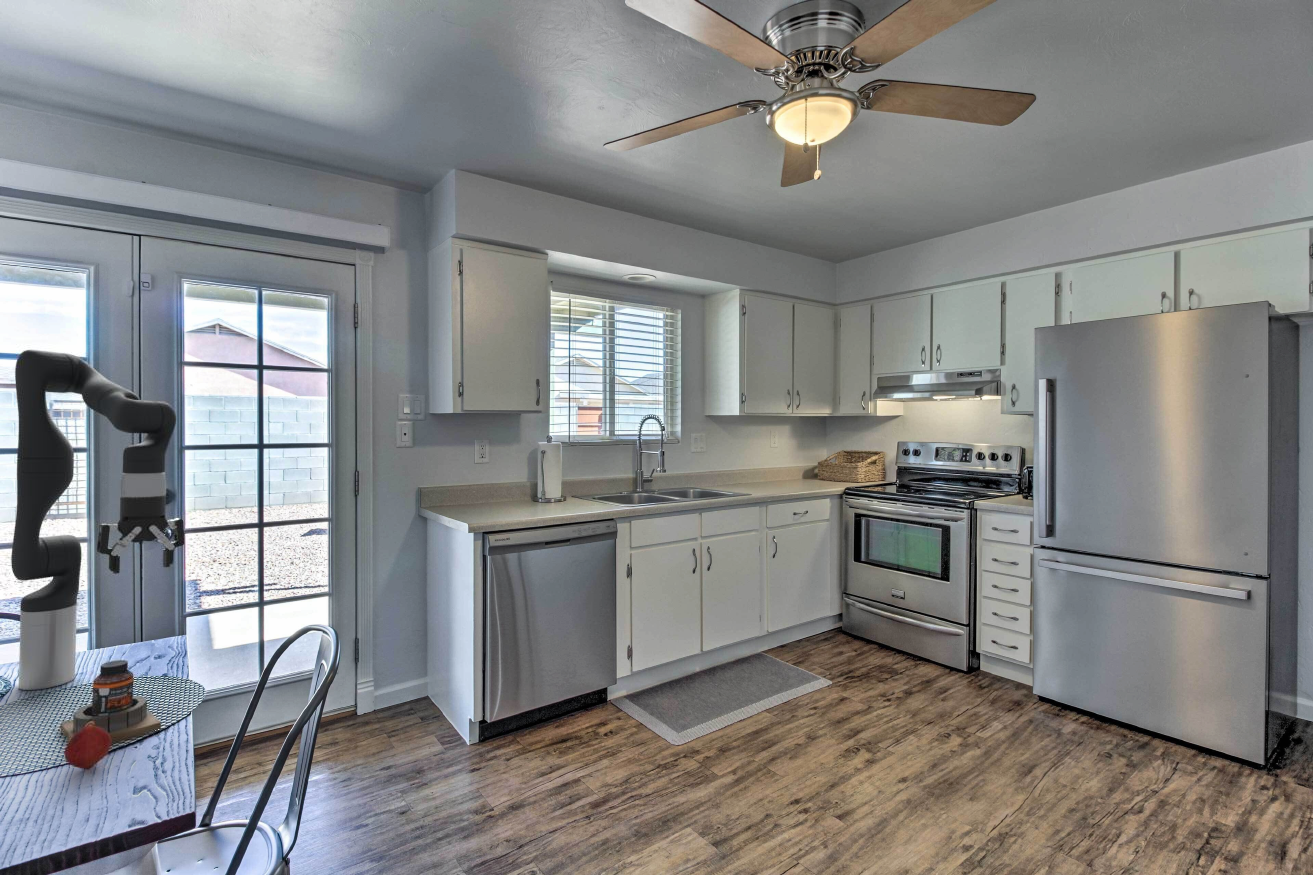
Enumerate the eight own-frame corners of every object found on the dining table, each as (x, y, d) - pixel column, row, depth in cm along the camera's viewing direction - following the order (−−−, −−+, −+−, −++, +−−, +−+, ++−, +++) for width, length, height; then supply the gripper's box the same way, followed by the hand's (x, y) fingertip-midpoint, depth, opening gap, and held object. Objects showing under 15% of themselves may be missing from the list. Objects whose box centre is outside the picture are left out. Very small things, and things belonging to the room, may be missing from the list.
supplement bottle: (107, 730, 117) (109, 669, 117) (82, 726, 118) (84, 666, 118) (140, 716, 123) (141, 659, 123) (116, 713, 124) (117, 656, 124)
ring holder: (60, 730, 120) (60, 706, 120) (139, 709, 129) (140, 688, 129) (77, 753, 111) (77, 728, 111) (160, 729, 121) (161, 706, 121)
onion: (71, 781, 102) (72, 733, 102) (59, 771, 105) (60, 724, 105) (116, 766, 107) (117, 719, 107) (103, 756, 110) (104, 711, 110)
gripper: (178, 491, 141) (176, 562, 141) (95, 494, 130) (93, 572, 130) (189, 493, 137) (187, 567, 137) (104, 497, 125) (102, 578, 125)
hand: (141, 569), depth 133 cm, fingers open, 8 cm apart
